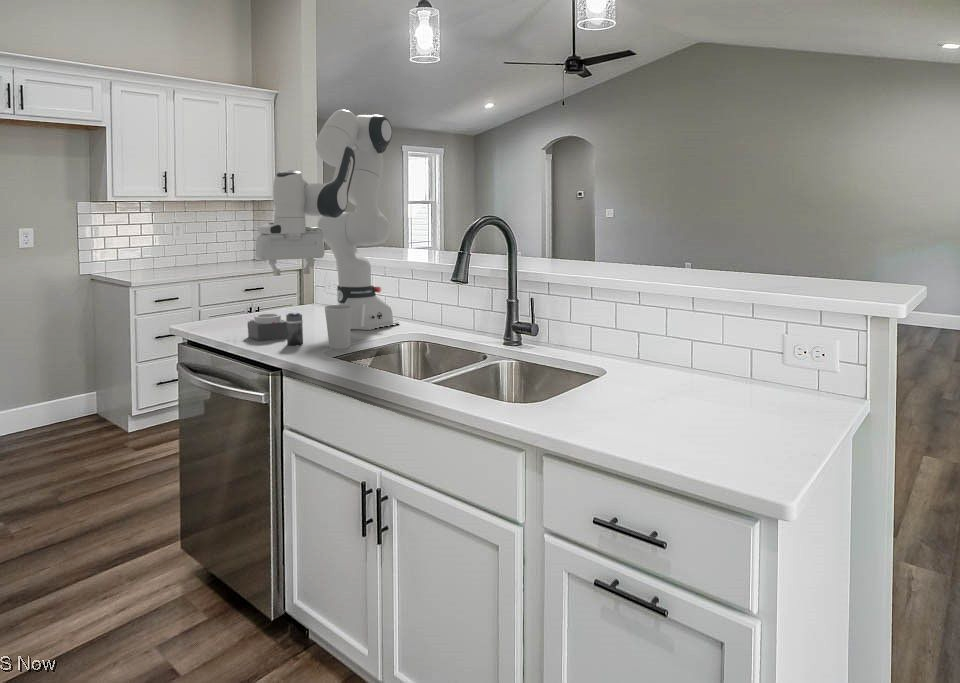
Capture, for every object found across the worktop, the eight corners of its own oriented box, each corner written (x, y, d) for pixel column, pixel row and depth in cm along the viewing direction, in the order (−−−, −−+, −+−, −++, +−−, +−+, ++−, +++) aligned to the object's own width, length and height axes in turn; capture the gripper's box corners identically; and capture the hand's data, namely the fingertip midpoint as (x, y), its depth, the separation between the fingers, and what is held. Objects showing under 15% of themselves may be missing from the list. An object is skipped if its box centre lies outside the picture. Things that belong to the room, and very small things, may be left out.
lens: (299, 342, 214) (298, 311, 212) (306, 344, 210) (305, 313, 209) (284, 344, 211) (282, 313, 209) (291, 346, 207) (289, 315, 206)
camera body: (278, 333, 227) (277, 312, 226) (289, 337, 220) (288, 315, 219) (248, 337, 221) (247, 315, 219) (259, 341, 214) (258, 319, 213)
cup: (320, 347, 207) (318, 307, 205) (339, 342, 214) (338, 304, 211) (339, 350, 203) (338, 309, 200) (358, 346, 209) (357, 306, 207)
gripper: (317, 226, 213) (319, 271, 215) (252, 227, 200) (254, 275, 203) (327, 227, 208) (328, 273, 211) (261, 228, 195) (263, 277, 198)
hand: (292, 274), depth 207 cm, fingers open, 8 cm apart
